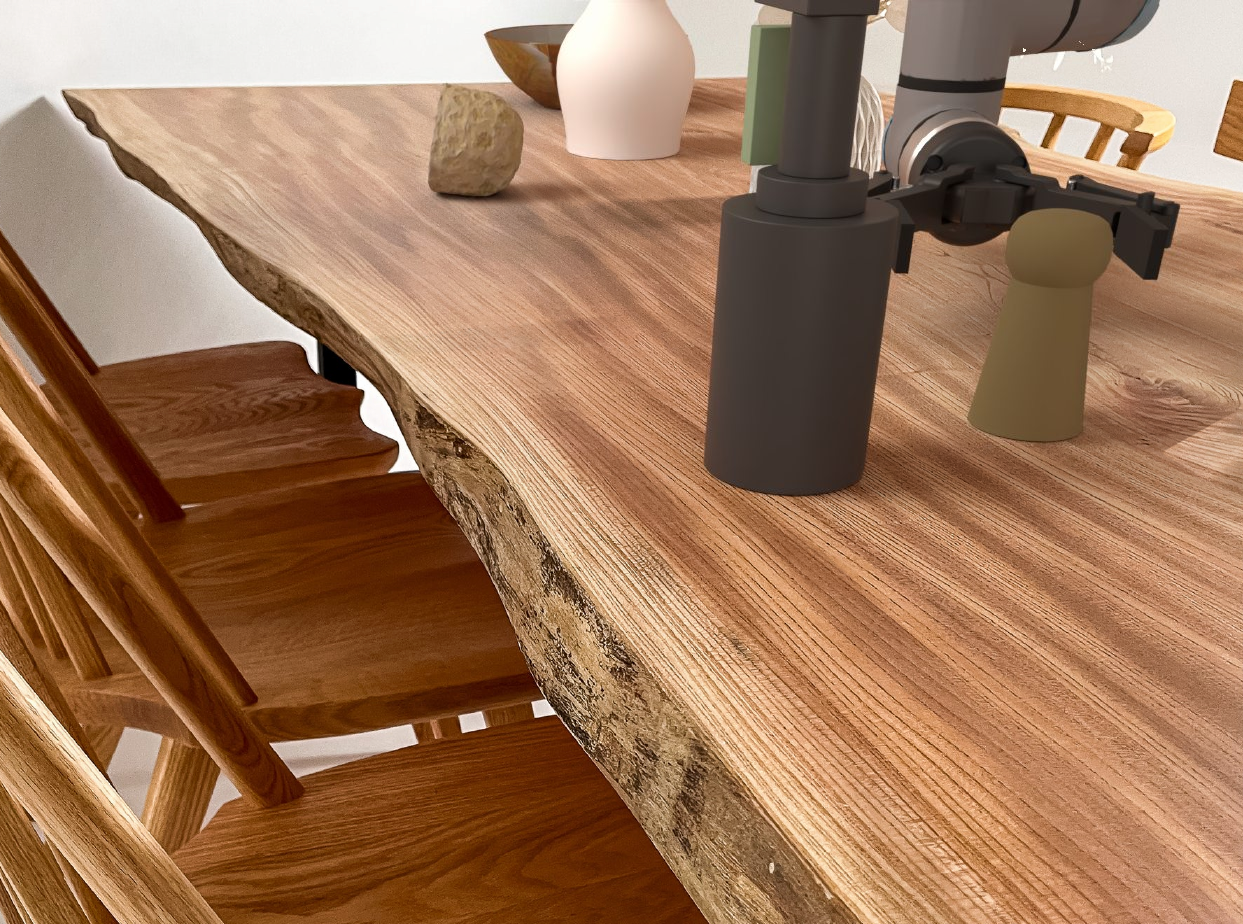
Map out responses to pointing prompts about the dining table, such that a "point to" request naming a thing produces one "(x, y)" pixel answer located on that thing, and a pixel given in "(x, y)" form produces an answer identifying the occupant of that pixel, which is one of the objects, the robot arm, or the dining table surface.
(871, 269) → the spray bottle
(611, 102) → the vase
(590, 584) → the dining table surface
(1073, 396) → the cork
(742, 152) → the sage green tall block
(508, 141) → the tan rough stone lump
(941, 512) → the dining table surface
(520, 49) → the bowl
